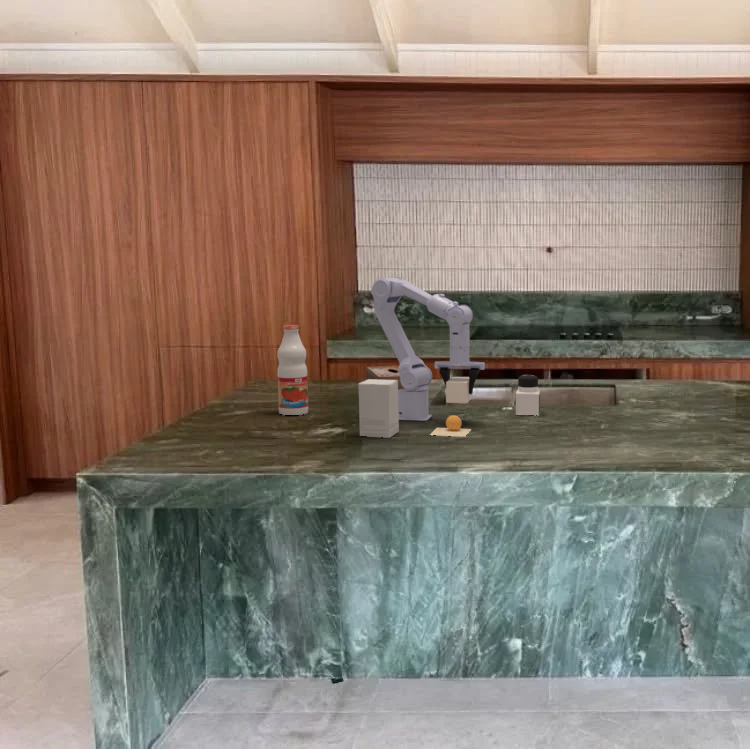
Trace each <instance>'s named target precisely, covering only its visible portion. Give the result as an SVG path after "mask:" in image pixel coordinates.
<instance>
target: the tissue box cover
mask: <svg viewBox="0 0 750 749" xmlns="http://www.w3.org/2000/svg"><path fill="white" fill-rule="evenodd" d="M398 368H399V365H384V366H383V365H381V366H379V365H377V366H366V368H365V369H366V380H368V379H377V380H398V390H399V389H404V387H403V386H402V385H401V382H400V375H399V372H398Z"/></svg>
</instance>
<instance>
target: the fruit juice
mask: <svg viewBox="0 0 750 749" xmlns="http://www.w3.org/2000/svg"><path fill="white" fill-rule="evenodd" d="M282 329H283V330H282V331H283V337H282V340H281V343H280V346H279V348H278V349H277V354H276V355H277V356H276V357H277V360H278V366H277V399H278V403H277V404H278V413H279V415H280V414H282V415H281V416H285V415H299V416H303V414H304V415H307V414H308V413H309V388H308V367H307V365H306V359H307V350H306V348H305V346H304V344H303V342H302V339H301V336H300V334H299V330H300V327H299V325H298V324H284V325H283V327H282Z"/></svg>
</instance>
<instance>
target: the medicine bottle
mask: <svg viewBox="0 0 750 749" xmlns="http://www.w3.org/2000/svg"><path fill="white" fill-rule="evenodd" d="M517 383H518V384H517V390H515V391H516V392H515V416H516V415H534V416H533V417H539V416H540V411H541V409H540V407H541V406H540V403H541V402H540V401H541V399H540V398H541V391H540V389H539V378H538V376H536V375H532V374H522V375H519V376H518V378H517ZM536 415H537V416H536Z"/></svg>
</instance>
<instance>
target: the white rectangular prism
mask: <svg viewBox="0 0 750 749" xmlns="http://www.w3.org/2000/svg"><path fill="white" fill-rule="evenodd" d="M445 391H446V392H445V393H446V395H445V399H446V403H447V404H468V403H469V402H470V400H471V399H472V398H473V393H472V394H469V376H452V377H450V379H449V380H448V381H447V382H446V387H445Z"/></svg>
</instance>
